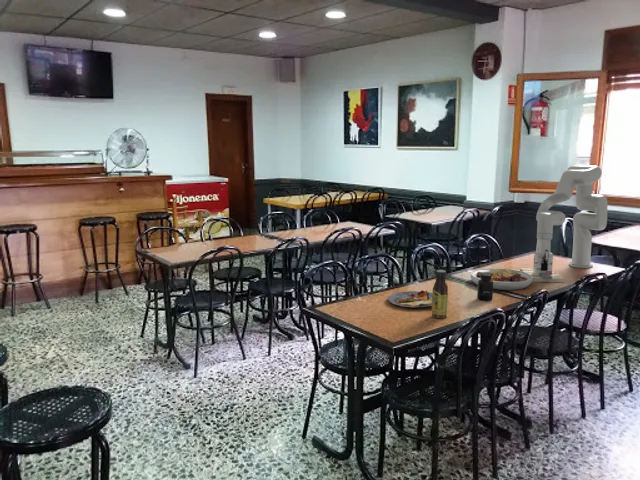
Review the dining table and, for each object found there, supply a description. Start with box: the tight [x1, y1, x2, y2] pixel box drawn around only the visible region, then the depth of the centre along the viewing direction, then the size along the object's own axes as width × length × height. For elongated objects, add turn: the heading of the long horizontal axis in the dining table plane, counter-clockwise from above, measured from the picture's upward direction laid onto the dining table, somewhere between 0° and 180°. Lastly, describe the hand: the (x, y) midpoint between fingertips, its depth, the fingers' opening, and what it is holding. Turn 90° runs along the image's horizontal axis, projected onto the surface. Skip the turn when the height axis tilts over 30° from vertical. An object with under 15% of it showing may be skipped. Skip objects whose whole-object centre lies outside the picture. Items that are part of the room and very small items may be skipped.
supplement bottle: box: [476, 273, 494, 302], centre depth 235 cm, size 7×7×12 cm
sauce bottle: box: [431, 269, 449, 319], centre depth 211 cm, size 6×6×20 cm
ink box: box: [533, 251, 554, 275], centre depth 271 cm, size 9×5×12 cm, turn 82°
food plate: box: [387, 290, 432, 308], centre depth 233 cm, size 25×23×4 cm
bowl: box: [470, 267, 533, 291], centre depth 263 cm, size 30×30×8 cm
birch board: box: [519, 267, 564, 283], centre depth 275 cm, size 22×16×2 cm
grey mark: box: [541, 274, 552, 279], centre depth 264 cm, size 4×4×2 cm
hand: (542, 269), depth 272 cm, fingers closed on ink box, 5 cm apart
